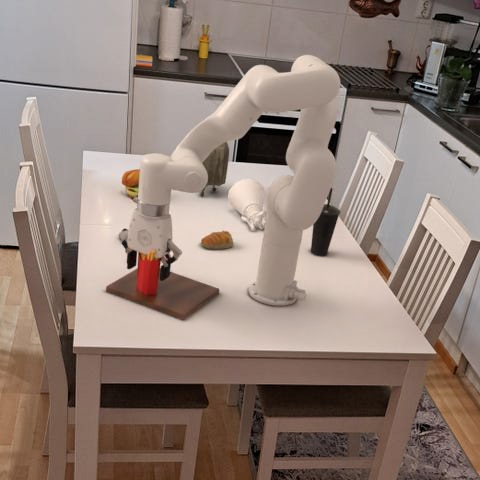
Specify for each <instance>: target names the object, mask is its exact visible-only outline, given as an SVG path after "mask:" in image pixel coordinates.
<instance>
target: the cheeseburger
mask: <svg viewBox="0 0 480 480" xmlns="http://www.w3.org/2000/svg"><path fill="white" fill-rule="evenodd" d="M139 177H140V168H138V169H130V170H127V171H125V172H124V173H123V174H122V177H121V184H122V185H123V186H125V189H126V193H127V196H128V197H129V198H131V199H133V200H134V197H138V190H139Z"/></svg>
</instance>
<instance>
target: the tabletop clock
mask: <svg viewBox="0 0 480 480" xmlns="http://www.w3.org/2000/svg"><path fill="white" fill-rule="evenodd" d="M229 158H230V147H229V144H228V141H227V142H225V143H223V144H221V145H219V146H218V147H217V148H215V149H214V150H213V151H212V152H211V153H210V154H209V156H208V157H207V158H206V159H205V160H204V162H203V163H202V164H203V165H204V167H205V169H206V171H207V174H208V182H207V184H206V186H205V188H204V189H202V190H201V191H199V192H198V193H199V194H198V195H199V196H200V197H204V195H205V190H206V188H208V186H212V188H211V192H212V193H216V192H218V191H217V190H218V189H217V187H220V186H222V185H225V184H226V180H227V174H228V167H229Z"/></svg>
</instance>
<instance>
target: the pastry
mask: <svg viewBox="0 0 480 480" xmlns="http://www.w3.org/2000/svg"><path fill="white" fill-rule="evenodd" d="M200 246H202V247H204V248H206V249H209V250H224V249H230V248H231V247H233V246H234V239H233V237H232V234H231V233H230V232H229V231H227V230H222V231H213V232H211V233H209V234H208V235H205V236H204V237H203V238H201V241H200Z"/></svg>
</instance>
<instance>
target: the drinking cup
mask: <svg viewBox="0 0 480 480" xmlns="http://www.w3.org/2000/svg"><path fill="white" fill-rule="evenodd" d="M333 190H334V189H333V187H331V189H330V191H329V194H328V197H327V203H325V204H324V207H323V209H322V212H321V214H320V216H319V218H318V219H317V221H316V222H315V223H314V224H313V225H312V234H311V235H312V236H311V243H310V244H311V245H310V253H311V254H313V255H314V256H316V257H317V256H318V257H325V256H327V255H328V252H329V249H330V245H331V242H332V240H333V235H334V233H335V230H336V225H337V224H338V223H337V222H338V220H339V216H340V215H341V210H340V209H339V208H338V207H336V206H335V205H332V204H331V199H332V194H333Z"/></svg>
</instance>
